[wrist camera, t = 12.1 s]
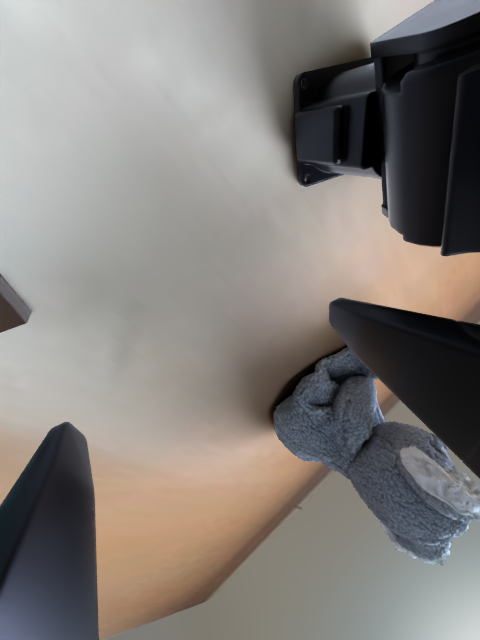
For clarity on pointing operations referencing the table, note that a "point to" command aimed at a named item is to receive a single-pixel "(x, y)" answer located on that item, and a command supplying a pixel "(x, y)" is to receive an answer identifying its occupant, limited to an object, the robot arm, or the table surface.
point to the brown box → (11, 308)
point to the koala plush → (379, 457)
